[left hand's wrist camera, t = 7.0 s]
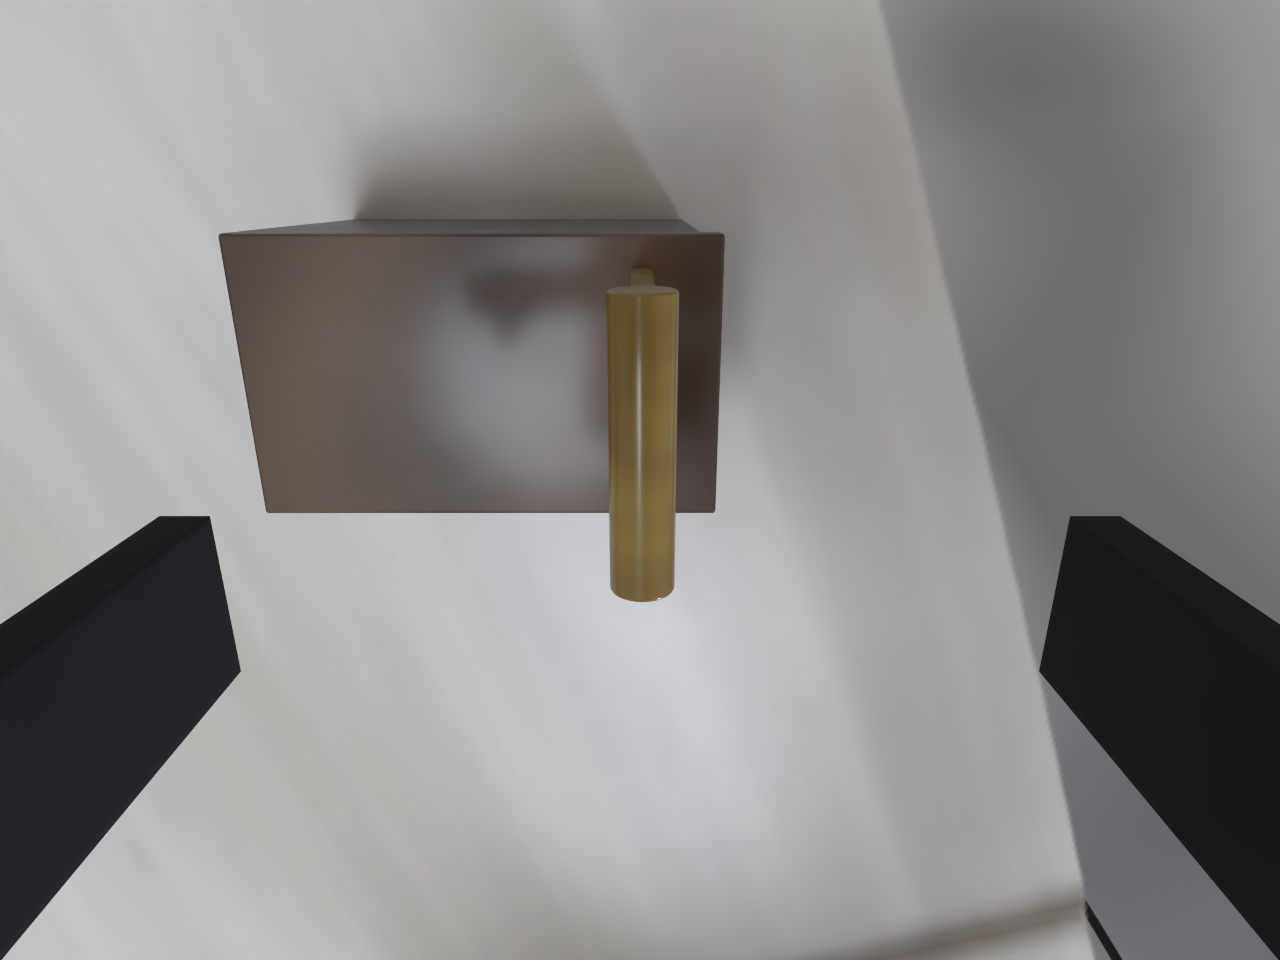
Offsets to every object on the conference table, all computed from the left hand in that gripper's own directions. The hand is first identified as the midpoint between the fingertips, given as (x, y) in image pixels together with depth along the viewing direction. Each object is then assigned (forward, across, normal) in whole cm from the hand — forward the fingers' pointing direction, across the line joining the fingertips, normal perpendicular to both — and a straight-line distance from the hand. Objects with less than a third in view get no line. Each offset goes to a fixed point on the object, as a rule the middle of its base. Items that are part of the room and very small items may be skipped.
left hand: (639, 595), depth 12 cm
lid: (+15, +5, 0) cm, 16 cm away
